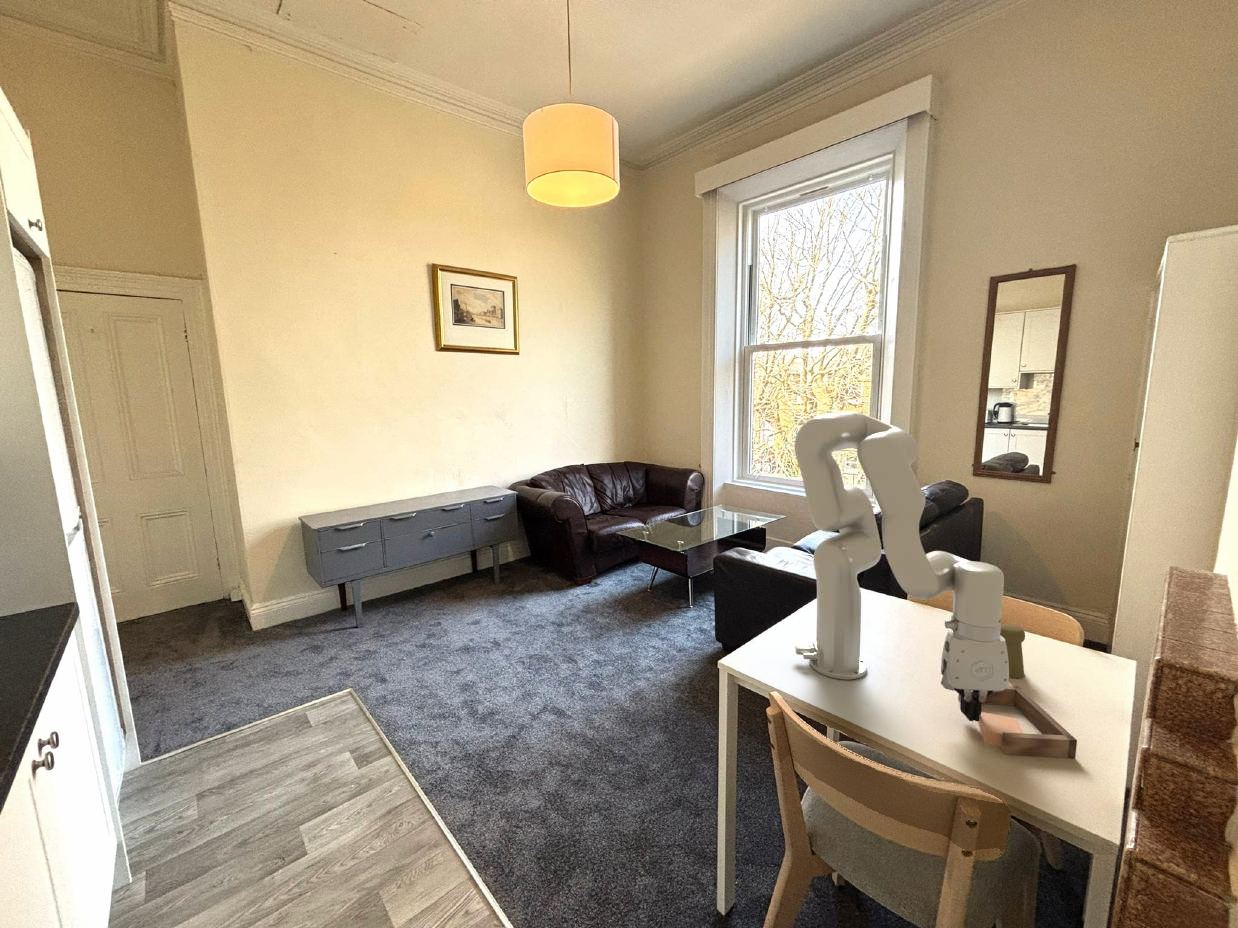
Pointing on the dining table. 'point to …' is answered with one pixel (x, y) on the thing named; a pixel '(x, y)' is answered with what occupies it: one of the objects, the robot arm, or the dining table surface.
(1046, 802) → the dining table surface
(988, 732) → the terracotta block
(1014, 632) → the cork
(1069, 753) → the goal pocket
